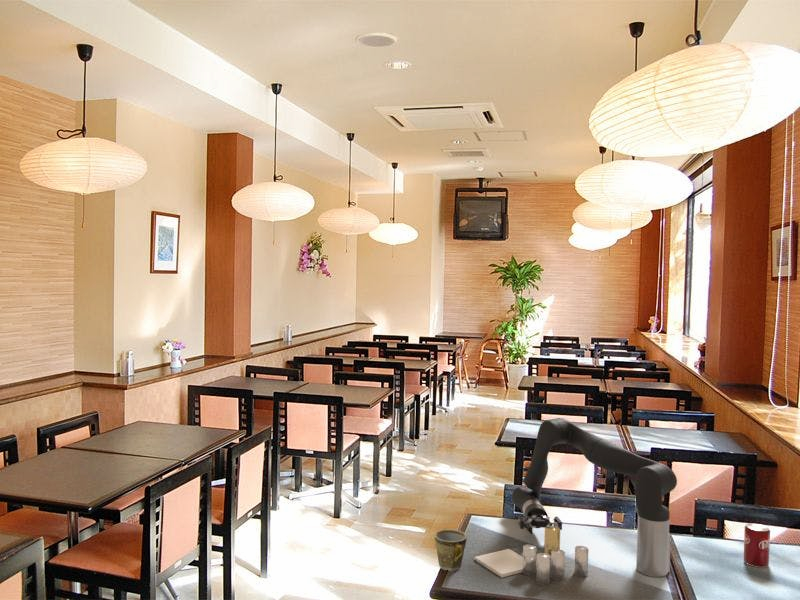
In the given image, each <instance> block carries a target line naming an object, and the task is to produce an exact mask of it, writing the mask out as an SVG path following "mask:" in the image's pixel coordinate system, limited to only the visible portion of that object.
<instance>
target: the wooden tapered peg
mask: <svg viewBox="0 0 800 600" xmlns="http://www.w3.org/2000/svg"><path fill="white" fill-rule="evenodd" d="M543 541H544V547H543V553H547V554H549V555H550V556H551V551H552V550H553V549H560V550H561V530H560V528H558V527H555V526H554V525H552V526H547V527H545V528H544V540H543ZM550 570H551V559H550Z"/></svg>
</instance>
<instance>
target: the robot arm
mask: <svg viewBox="0 0 800 600" xmlns="http://www.w3.org/2000/svg"><path fill="white" fill-rule="evenodd" d="M562 444H565V445H570V446H572V447H574V448H576V449H578V450H579V451H580V452H581V453H582V455H583V456H584V458H585V459H586V460H587V461H588V462H589V463H591V464H593V465H595V466H597V467H599V468H601V469H603V470H605V471H609V472H611V473H616V474H621V475H627V476H630V477H634V478H635V481H634V482H635V483H634V485H635V487H634V488H635V490H634V491H635V505H636V508H637V530H636V531H637V533H636V535H637V538H636V541H637V542H636V561H635V562H636V567H635V568H636V570H637V572H638V573H641V574H643V575H645V576H649V577H653V578H654V577H656V578H660V577H661V578H662V577H666V576H668V574H669V572H670V571H671V570H670V569H671V543H672V542H671V541H670V515H671V511H670V510H669V508H668V507H667V506H665V505H663V495H666V494H669V493H671V492H672V491H674V489H676V487H677V486H678V479H677V476H676V473H675V472H674V471H673V469H671V468H670V467H669V466H668V465H666V464H663V463H661V462H658V461H655V460H652V459H649V458H646V457H643V456H640V455H638V454H636V453H634V452H633V451H630V450H628V449H626V448H623V447H622V446H620V445H617V444H616V443H613V442H612V441H609V440H607V439H605V438H603V437H601V436H598V435H596V434H594V433H591V432H588V431H586V430H585V429H583V428H581V427H579V426H578V425H576V424H575V423H574V422H571V421H570V420H567V419H565V418H562V417H561V418H560V417H557V418H550V419H546V420H544V421H542V422H541V423H540V426H539V428H538V432H537V436H536V441H535V445H534V449H533V453H532V457H531V462H530V464H529V466H528V468H527V471H526V473H525V476H524V479H523V484H524V485H525V487H523V486H517V487H515V488H514V489H513V491H512V494H511V498H512V502H513V504H514V506H515V507H517V508H518V509H520V510H521V512H522V514H523V516H522V515H518V526H519V529H520V530H524V529H525V530H526V531H527V533H529V534H530V535H532V534H533V529H541V528H544V529H545V527H547V526H555V527H558V528H560V531H562V530H563V521H562V520H561V519H560V517H558V516H554V517H553V518H551V517H550V516H548V513H547V511H546V509H545V508H544V505H542V504H541V494H542V487H543V484H544V483H545V481H546V478H547V475H548V471H549V463H548V455H549V453H550V451H551V450H552V448H553V446H557V445H562Z"/></svg>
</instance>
